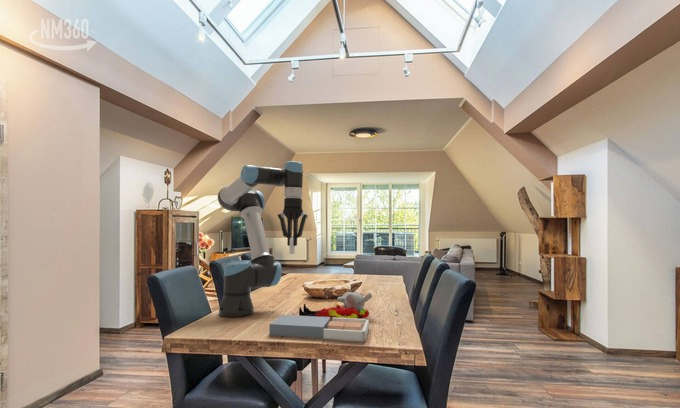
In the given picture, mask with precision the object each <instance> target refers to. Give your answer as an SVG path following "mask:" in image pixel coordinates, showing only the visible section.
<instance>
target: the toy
mask: <svg viewBox="0 0 680 408" xmlns="http://www.w3.org/2000/svg"><path fill="white" fill-rule="evenodd" d="M372 297H373V295H372V293H368V294H366V295H365V296H363V294H361V293H359V292H351V291H350V292H349V291H348V292H345V293H344V294H343V295H342V296H338V297H337V302H339V303H342V304H343V305H344V306H346V307H345V308H352V307H353V308H354V309H355V310H357V311H358V312H359V313H361V311H360V310H363V309H364V306H365V304H366V302H368V301H370V300H371V298H372Z"/></svg>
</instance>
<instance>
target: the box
mask: <svg viewBox="0 0 680 408" xmlns="http://www.w3.org/2000/svg"><path fill="white" fill-rule="evenodd" d="M331 321H340V322H359V323H362V331H357V330H339V329H324V338H323V341H333V342H334V341H335V342H337V341H338V342H353V343H366V339H367V336H368V334H369V329H370V319H369V318H361V319H355V318H336V317H331Z"/></svg>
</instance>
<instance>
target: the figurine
mask: <svg viewBox="0 0 680 408" xmlns="http://www.w3.org/2000/svg"><path fill="white" fill-rule="evenodd" d="M362 309H363V310H360V311H361V313H359V311H357V310H355V309H354V308H353V307H352V308H347V307H342V306H341V305H340V304H339V303H335V305H333V307H329V308H325V307H324V308H322V309H319V310H311V309H309V308H308V307H307V305H306V304H305V303H303V309H302V307H301V306H299V309H298V316H316V317H331V318H332V317H335V318H355V319H367V318H368V317H369V315H370V312H369V310H368V309H364V308H362Z"/></svg>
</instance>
